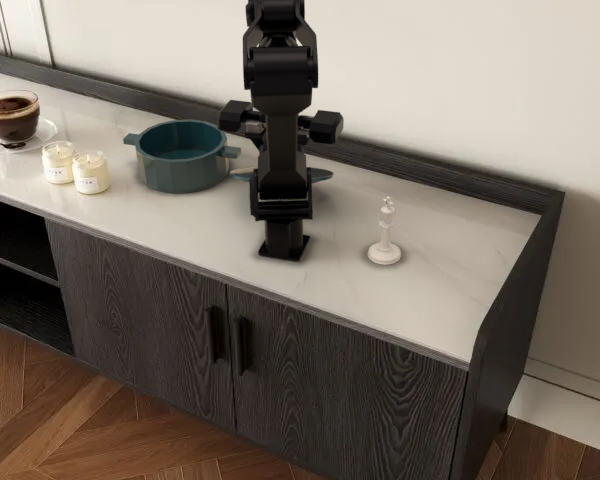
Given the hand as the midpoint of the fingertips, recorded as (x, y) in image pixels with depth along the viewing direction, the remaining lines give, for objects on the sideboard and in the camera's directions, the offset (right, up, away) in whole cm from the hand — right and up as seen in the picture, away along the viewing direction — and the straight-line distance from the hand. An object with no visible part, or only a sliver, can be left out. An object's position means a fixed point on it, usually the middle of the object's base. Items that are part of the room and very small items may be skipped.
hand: (281, 170), depth 122 cm
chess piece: (+16, -14, -8) cm, 22 cm away
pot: (-17, +2, +13) cm, 22 cm away
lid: (0, -1, 0) cm, 1 cm away
